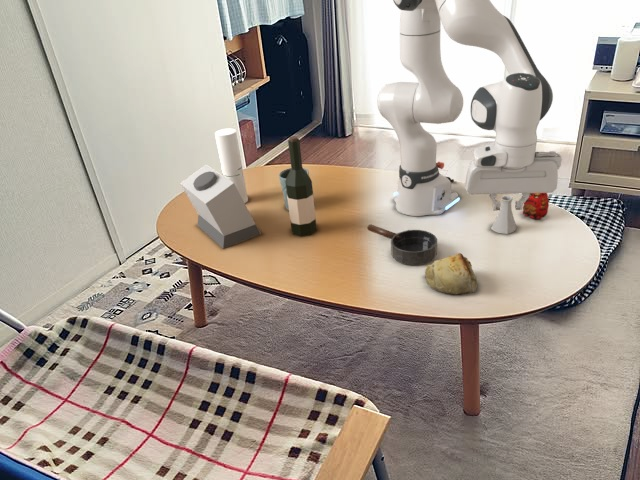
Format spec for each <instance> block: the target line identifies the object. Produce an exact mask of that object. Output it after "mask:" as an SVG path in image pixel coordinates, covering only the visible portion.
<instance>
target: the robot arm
mask: <svg viewBox="0 0 640 480" xmlns="http://www.w3.org/2000/svg"><path fill="white" fill-rule="evenodd" d="M392 1H393V3H394V5H395V6H396V7H397V9H399V10H400V18H399V60H400V62H401V65H402V66H403V67H404V69H406V70H407V71H409V72H411V73H412V74H413V75H414V76H415V78H416V80H417V82H411V81H396V82H392V83H388V84H385V85H384V86H383V87H382V88H381V89H380V90H379V93H378V95H377V103H376V105H377V110H378V112H379V113H380V115H381V117H383V119H385V121H387V122H388V123H389V124H390V125H391V127H392V128H393V130H394V132H395V134H396V136H397V139H398V143H399V155H400V156H399V157H400V165H399V166H398V167H399V168H398V180H397V186H396V187H397V188H396V189H397V190H396V191H395V192H393V194H392V195H393V196H395V197H394V199H393V200H394V203H395V210H396V211H397V212H399V213H400V214H402V215H406V216H412V217H422V216H430V215H432V216H433V215H436V216H438V215H439V216H440V215H442V214H443V213H444V212H445V211H447V210H448V209H450V208H451V207H452V206H453V205H455V204H456V203H458V202H459V201H460V197H459V194H458V192H456V191H454V189H453V190H452V183H454V182H455V179H453V178H451V177H450V176H446V175H443V174H441V173H440V170H443V169H444V167H445V162H441V161H437V150H438V149H437V148H438V144H437V140H436V138H435V136H433V135H432V134H431V133H430V132H428V131H427V130H426V129H424V127H423V126H422V124H435V125H441V124H447V123H453V122H455V121H456V120H457V119H458V118H459V117H460V115H461V113H462V111H463V110H464V109H463V108H464V95H463V93H462V91H461V90H460V88H459V87H458V86H456V84H454V83H453V82H452V80H451V79H450V78H449V77H448V74H447V73H446V70H445V69H444V65H443V61H442V54H441V53H442V52H441V29H442V28H443V29H444V32H445V33H446V34H447V36H448V37H449V38H450V39H451V40H452V41H454V42H455V43H457V44H460V45H464V46H468V47H476V48H481V49H483V50H488V51H491V52H493V53H494V54H495V55H497V56H498V57H499V58H500V60H501V62H502V63H503V65H504V68H505V69H506V70H507V73H508V75H507V76H506V77H504V79H502V81H499V82H495V83H491V84H486V85H484V86H481V87H479V88H478V89H477V90H476V91H475V93H474V94H473V96H472V99H471V103H470V117H471V120H472V122H473V123H474V124H475V125H476V126H477V127H479V128H480V129H482V130H486V131H494V132H495V134H496V135H495V138H494V141H492V142H490V143H487V144H484V145H481V146H478V147H475V148H474V150H473V155H472V158H473V160H471V161H470V163H469V166H468V168H467V172H466V178H465V186H464V188H465V192H466V193H467V194H468V196H469V195H470V196H472V195H473V196H476V195H478V196H479V195H489V199H490V200H491V201H492V210H493V211H500V209H501V205H502V203H501V200H496V199H497V197H498V196H497V195H513V194H518V195H519V194H521V197H520V199H518V200H515V202H514V203H515V204H514V210H515V211H523V206H524V203H525V201H526V200H527V199H528V198H529V194H530V193H547V194H551V193H554V192H555V191H556V190H557V188H558V181H559V180H558V179H559V174H558V171H559V169H560V167H562V160H563V158H562V155H560V154H559V153H558V152H556V151H553V150H552V151H537V143H538V133H537V129H538V126H539V124H540V121H542V120H543V118H544V117H545V116H546V115H547V114H548V112H549V111H550V109H551V107H552V104H553V100H554V94H553V89H552V86H551V84H550V82H548V80H547V78H546V77H545V76H544V75H543V74H542V73H541V71H540V70H539V69H538V67H537V65H536V64H535V63H536V62H535V61H534V59H533V58H532V56H531V53H530V52H529V50H528V49H527V47H526V45H525V43H524V41H523V39H522V37H521V36H520V34H519V32H518V30H517V28H516V27H515V25H514V23H513V22H512V21H511V20H510V18H508V17H507V16H505V15H503V14H502V13H501V12H500V11H499V10H498V9H497V8H496V6H495V5H494V4H493V3H492V1H491V0H392ZM441 25H442V28H441ZM421 123H422V124H421ZM439 169H440V170H439Z"/></svg>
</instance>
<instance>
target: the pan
mask: <svg viewBox="0 0 640 480" xmlns="http://www.w3.org/2000/svg"><path fill="white" fill-rule="evenodd" d="M397 235H399V236H400V238H399V240H397V241H396V236H397ZM390 255H391V257H392V259H393V260H394V261H396V262H398V263H401V264H403V265H407V266H420V265H425V264H428V263H430V262H431V261H433V260H435V258H436V257H437V255H438V237H437V236H436V235H435V234H433V233H432V232H430V231H426V230H422V229H407V230H402V231H399V232H396V235H394V236H393V237H392V239H390Z"/></svg>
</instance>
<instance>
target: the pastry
mask: <svg viewBox="0 0 640 480" xmlns="http://www.w3.org/2000/svg"><path fill="white" fill-rule="evenodd" d="M424 276H425V281H426V284H427V285H428V286H429V287H430V288H431V289H432V290H435V291H437V292H441V293H444V294H450V295H455V296H456V295H461V294H464V295H467V294H470V293H474V292H476V291H477V287H478V284H477V278H478V277H477V275H476V273H475V271H474V270H473V264H472V263H471V261H469V259H468V257H466V256H464V255H463V254H462V253H461V252H459V253H456V254H454V255H448V256H446V257H444V258H441V259H436V260H434V262H433V263H431V264H427V266H426V268H425V270H424Z"/></svg>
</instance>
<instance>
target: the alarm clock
mask: <svg viewBox="0 0 640 480" xmlns="http://www.w3.org/2000/svg"><path fill="white" fill-rule="evenodd" d="M179 185H180V186H181V188H182V190H183V192H184V193H185V195H186V196H187V198H188V199H189V201H190V203H191V205H192V206H193V208H194V209H195V212H196V213H197V217H198V218H197V227H198V228H199V229H200V230H201V231H202V232H204V233H205V234H206V235H207V236H208V237H209V238H210V239H212V241H214V242H215V243H216V244H217V245H219V247H220V248H222V249H226V248H229V247H232V246H234V245H236V244H239V243H242V242H244V241H247V240H250V239H252V238H255V237H257V236H260V235H262V234H261V232H260V229H259V227H258V226H257V224H256V222H255V220H254V218H253V216H252V214H251V212H250V211H249V209H248V206H247V205H246V203H244V201H243V199H242V197H241V195H240V194H239V192H238V190H237V188H236V186H235V184H234V183H233V182H232V181H230V180H229V179H227V178H226V177H225V176H223V173H220V171H219V172H218V171H217V170H216V169H214V168H213V167H211V166H209V165H208V164H207V163H206V164H204V165H203V166H202V167H200V168H199V169H197V170H196V171H195V172H194V173H192V174H190V175H189V176H188V177H186V178H185V179H184V180H182V181H181V182H180V183H179Z"/></svg>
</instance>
